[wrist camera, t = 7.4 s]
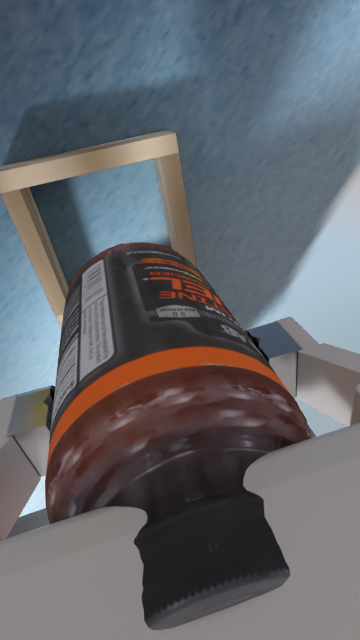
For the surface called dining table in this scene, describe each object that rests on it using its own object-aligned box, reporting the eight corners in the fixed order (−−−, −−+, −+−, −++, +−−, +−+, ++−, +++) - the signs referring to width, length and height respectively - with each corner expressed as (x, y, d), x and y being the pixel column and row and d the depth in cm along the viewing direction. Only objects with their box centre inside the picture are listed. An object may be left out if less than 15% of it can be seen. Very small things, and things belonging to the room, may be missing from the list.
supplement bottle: (229, 272, 15) (488, 548, 5) (164, 375, 17) (270, 707, 7) (99, 208, 12) (160, 524, 3) (41, 339, 14) (-38, 777, 5)
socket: (62, 307, 26) (60, 328, 23) (2, 165, 20) (-9, 173, 18) (189, 273, 27) (200, 289, 24) (164, 130, 21) (175, 132, 19)
